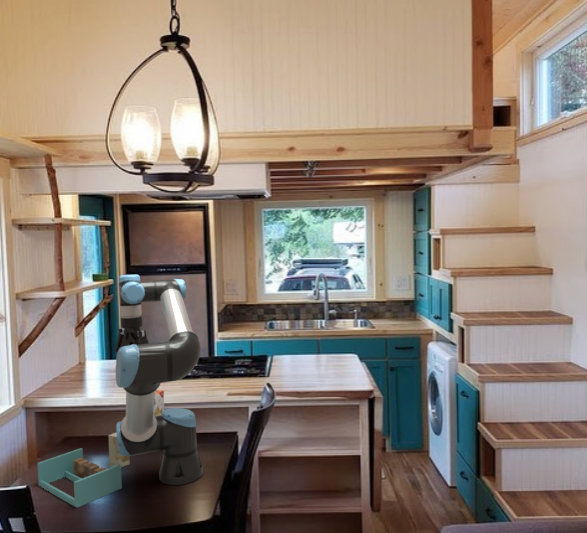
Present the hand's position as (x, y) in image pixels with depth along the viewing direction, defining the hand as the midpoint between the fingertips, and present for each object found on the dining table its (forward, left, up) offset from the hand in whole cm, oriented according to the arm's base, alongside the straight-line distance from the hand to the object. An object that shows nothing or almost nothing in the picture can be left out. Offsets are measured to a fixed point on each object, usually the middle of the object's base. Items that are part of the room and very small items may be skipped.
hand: (134, 373), depth 192 cm
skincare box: (+6, +4, -35) cm, 36 cm away
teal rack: (+2, +22, -35) cm, 41 cm away
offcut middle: (+2, +18, -35) cm, 39 cm away
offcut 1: (+9, +18, -35) cm, 40 cm away
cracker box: (+14, -16, -35) cm, 41 cm away
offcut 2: (-5, +18, -35) cm, 39 cm away
